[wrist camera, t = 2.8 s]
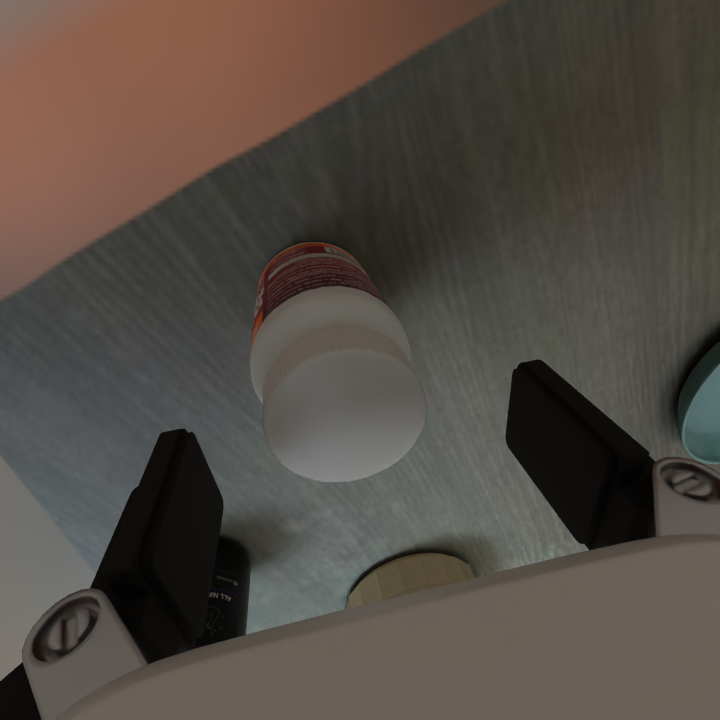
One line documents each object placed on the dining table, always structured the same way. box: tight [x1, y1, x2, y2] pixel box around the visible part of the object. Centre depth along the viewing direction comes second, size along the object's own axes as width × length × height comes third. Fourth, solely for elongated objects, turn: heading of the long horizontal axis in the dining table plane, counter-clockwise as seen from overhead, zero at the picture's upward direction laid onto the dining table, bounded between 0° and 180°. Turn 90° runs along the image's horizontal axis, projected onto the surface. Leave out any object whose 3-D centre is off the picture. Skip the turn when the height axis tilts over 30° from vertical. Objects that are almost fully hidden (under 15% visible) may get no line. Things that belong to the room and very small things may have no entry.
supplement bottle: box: [194, 538, 251, 649], centre depth 25 cm, size 7×7×12 cm
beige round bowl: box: [345, 553, 476, 610], centre depth 36 cm, size 13×13×6 cm
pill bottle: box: [250, 242, 427, 482], centre depth 17 cm, size 6×6×11 cm
